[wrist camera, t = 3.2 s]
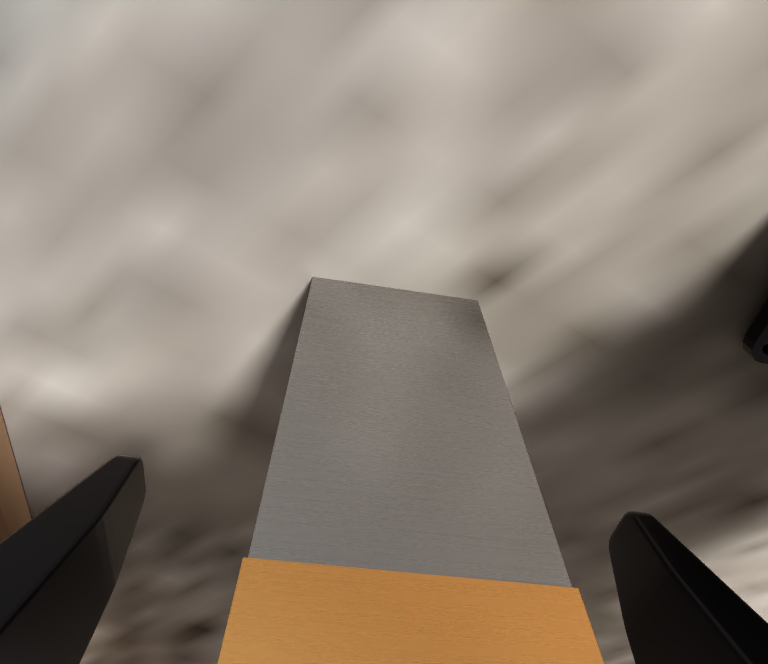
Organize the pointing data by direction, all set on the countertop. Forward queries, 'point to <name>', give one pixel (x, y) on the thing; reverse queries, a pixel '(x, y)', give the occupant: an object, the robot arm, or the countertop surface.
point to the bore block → (10, 489)
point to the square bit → (401, 502)
